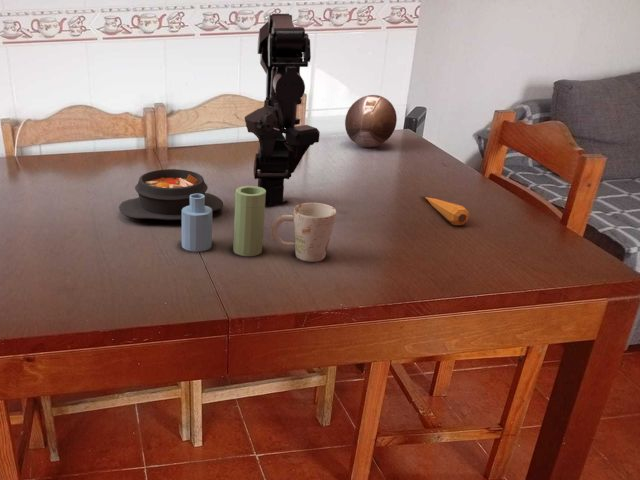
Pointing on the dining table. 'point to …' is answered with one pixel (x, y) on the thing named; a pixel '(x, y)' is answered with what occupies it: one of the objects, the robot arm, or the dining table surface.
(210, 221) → the bottle
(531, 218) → the dining table surface
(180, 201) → the casserole
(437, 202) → the carrot
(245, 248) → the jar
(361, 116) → the bronze metallic sphere
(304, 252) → the mug
